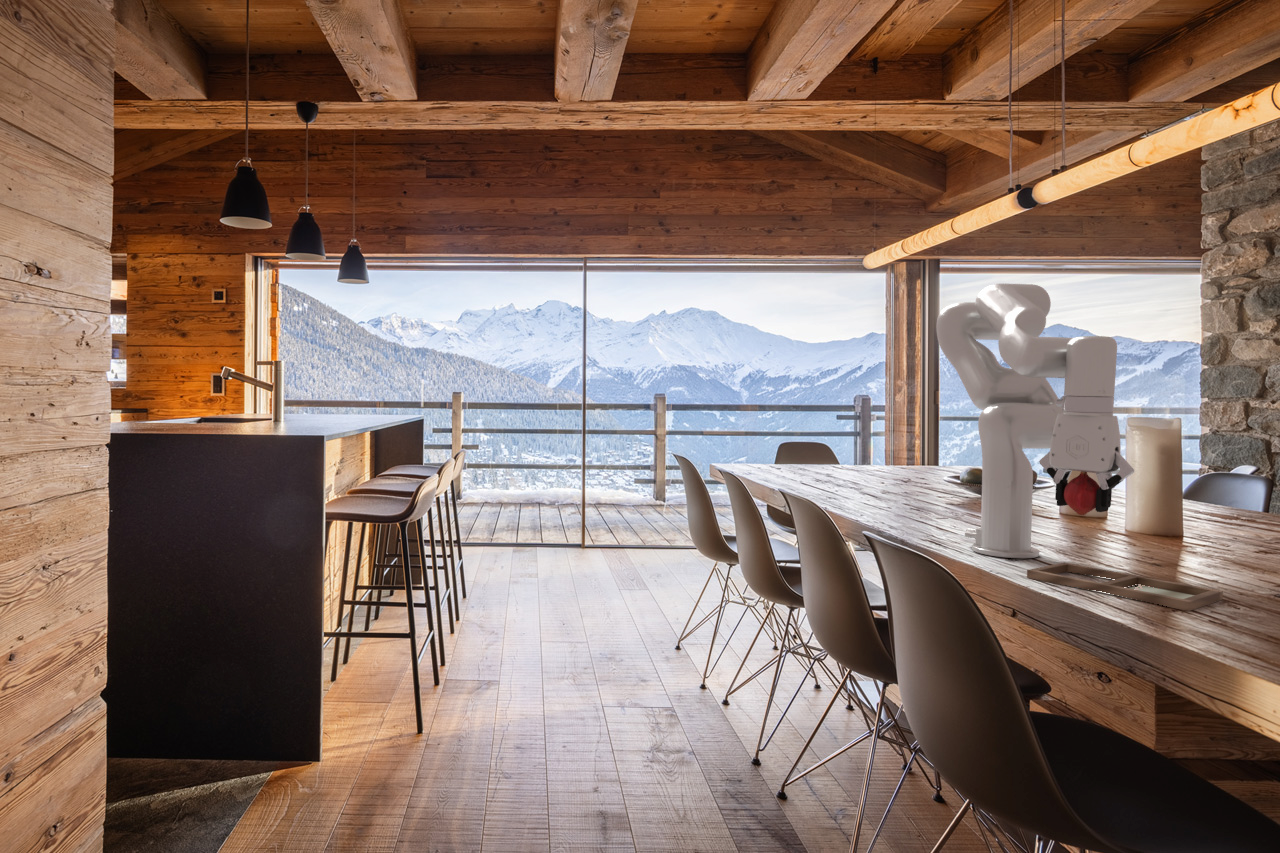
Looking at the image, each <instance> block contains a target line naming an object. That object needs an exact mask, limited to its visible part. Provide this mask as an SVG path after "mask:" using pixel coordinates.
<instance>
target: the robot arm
mask: <svg viewBox="0 0 1280 853" xmlns="http://www.w3.org/2000/svg"><path fill="white" fill-rule="evenodd" d="M1050 311H1051V297H1050V295H1049V293H1048V292H1047V290H1046V289H1045V288H1043V287H1042V286H1041V285H1038V284H1032V283H1031V284H1027V283H994V284H990V285H988V286H985V287H984V288H983V289H981V290H980V291H979V293H978V294H977V296H976V298H975V302H971V301H968V302H967V301H966V302H956V303H952V304H949V305H947V306H946V307H944V308H942V310H941V311H940V312H939V313H938V316H937V319H936V337H937V341H938V345H939V346H940V349H941V352H942V353H943V354H944V356H945V357H946V359H947V360H948V361H949V362H950V364H951V366H952V367H953V368H954V369H955V371H956V372H957V374H958V376H959V378H960V381H961V383H962V384H963V386H964V389H965V391H966V392H967V394H968V395H967V396H969V399H970V400H971V402H972V403H973V404H974V406H975V407H976V408H977V409H979V410H981V413H980V414H979V416H978V421H977V422H978V423H977V424H978V435H979V438H980V439H979V440H980V446H981V457H982V458H981V459H982V462H981V463H982V467H981V468H982V472H981V478H982V479H981V508H980V509H981V514H980V515H981V516H980V528H971V527H967V528H966V531H965V532H964V536H965V538H970V539H974V540H975V543H972V548H971V550H972V551H974V552H975V553H977V554H981V555H986V556H990V557H997V558H1004V559H1005V558H1009V559H1010V558H1011V559H1034V558H1038V557H1039V556H1040V550H1039V549H1038V548H1036V547H1033V546H1032V526H1033V525H1032V522H1033V518H1032V517H1033V492H1034V491H1033V490H1034V489H1033V487H1034V486H1033V485H1034V484H1033V483H1034V471H1033V466H1032V464H1031V462H1030V460H1029V459H1028V457H1027V455H1026V453H1025V451H1024V450H1023V449H1036V450H1037V449H1039V450H1040V449H1041V450H1043V449H1046V450H1047V449H1048V450H1049V451H1048V452H1047V453H1046V454H1045V455H1044V456H1043V457H1042V458H1040V459H1039V461H1038V462H1039V465H1041V467H1042V468H1043V469H1044V470H1045V471H1046V473H1047V474H1048V475H1049V476H1050V478H1052V482H1053V483H1054V484H1055V498H1054V499H1055V500H1056V506H1058V507H1064V506H1069V505H1068V504H1067V503H1066V501H1065V499H1064V490H1065V487H1066V485H1067V484H1068V483H1069V478H1070V476H1071V475H1072V472H1073V471H1076V472H1081V471H1082V472H1087V473H1092V474H1093V473H1094V474H1096V478H1097V481H1098V485H1099V486H1100V489H1097V493H1096V508H1095V509H1094V510H1095V512H1096V513H1104V512H1108V511H1109V508H1111V506H1112V495H1113V494H1112V493H1113V489H1115V487H1116V486H1118V485H1119V484H1121V482H1123V481H1124V480H1125V479H1126V478H1128V477H1130V476H1131V475H1133V474H1134V473H1135V469H1134V467H1133V466H1132V465H1131V464H1130V463H1129V462H1128V461H1127V460H1126V459H1125V458H1124V457H1123V456H1122V453H1121V450H1122V449H1121V434H1120V427H1119V426H1120V425H1119V420H1118V416H1117V415H1114V408H1115V407H1114V406H1115V389H1116V374H1117V373H1116V372H1117V360H1118V359H1117V357H1118V356H1117V355H1118V344H1117V341H1116V339H1115V338H1113V337H1110V336H1104V335H1089V336H1088V335H1087V336H1075V337H1063V336H1062V337H1061V336H1060V337H1059V336H1040V335H1042V334H1043V332H1044V330H1045V327H1046V324H1047V317H1048V315H1049V313H1050ZM978 340H980V341H981V340H985V341H986V340H989V341H993V340H994V341H998V343H997V344H998V351H999V355H1000V357H1001V359H1002V360H1003V361H1004V363H1006V365H1008V366H1009V368H1008V367H1005V366H1003V365H1001V363H999V361H998V359H997V358H996V355H995V354H994V353H993V352H992V350H990V349H989V347H987V346H985V345H984V344H982V343H981V342H979V341H978ZM1047 378H1051V379H1054V378H1056V379H1064V392H1063V396H1062V398H1061V399H1059V397H1058V395H1057V393H1056V392H1055V390H1054V389H1053V387H1052V386H1051V384H1050V383H1049V381H1048V379H1047ZM1118 470H1119V472H1117V473H1116V474H1114V475H1113V474H1112V473H1113V472H1116V471H1118Z"/></svg>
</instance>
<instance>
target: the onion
mask: <svg viewBox="0 0 1280 853" xmlns="http://www.w3.org/2000/svg"><path fill="white" fill-rule="evenodd" d="M1097 489H1100V484H1099V482H1097V481H1096V480H1095V479H1093V478H1092V477H1090V475H1089V474H1088V472H1082V471H1080V473H1079V474H1078V475H1077V476H1076V477H1073V478H1072V479H1071V480H1069V481H1068V484H1067V485H1066V487H1065V490H1064V499H1065V501H1066V503H1067V504H1068V505H1067V506H1068V507H1069V508H1070V509H1072V510H1073V511H1074V512H1075V513H1076V514H1077V515H1079V516H1084V515H1086V514H1088V513H1090V512H1092V511H1093V510H1095V509H1096V493H1097Z"/></svg>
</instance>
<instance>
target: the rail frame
mask: <svg viewBox="0 0 1280 853" xmlns="http://www.w3.org/2000/svg"><path fill="white" fill-rule="evenodd" d="M1063 572H1064V573H1071V572H1072V574H1076V573H1080V574H1079V575H1082V574H1086V575H1085V576H1087V575H1093V576H1100V577H1106V578H1111V579H1115V580H1106V581H1103V582H1098V581H1092V580H1087V579H1082V578H1081V579H1080V578H1078V577H1074V576H1073V577H1072V576H1067V575H1062V574H1063ZM1026 578H1027V579H1030V580H1031V579H1032V580H1036V581H1042V582H1046V583H1051V584H1055V585H1060V584H1061V585H1060V586H1065V585H1067V586H1066V587H1069V586H1071V587H1070V588H1074V587H1078V588H1077V589H1079V588H1083V589H1082V590H1084V589H1089V590H1096V591H1102V592H1106V593H1110V594H1114V595H1119V596H1123V597H1127V598H1126V599H1128V598H1132V599H1137V600H1142V601H1146V602H1145V603H1147V602H1150V603H1149V604H1152V603H1154V604H1153V605H1157V604H1159V605H1158V606H1162V605H1163V607H1166V606H1167V608H1173V609H1177V610H1181V611H1187V612H1190V611H1194V610H1197V609H1199V608H1203V607H1205V606H1209V605H1211V604H1215V603H1217V602H1221V601H1223V599H1224V591H1223V590H1220V589H1213V588H1208V587H1202V586H1196V585H1190V584H1187V583H1186V584H1185V583H1180V582H1175V581H1174V582H1173V581H1170V580H1163V579H1157V578H1153V577H1147V576H1142V575H1136V574H1129V573H1124V572H1119V571H1115V570H1110V569H1109V570H1108V569H1103V568H1097V567H1091V566H1085V565H1079V564H1075V563H1070V562H1069V563H1068V562H1061V563H1054V564H1049V565H1046V566H1041V567H1040V566H1039V567H1036V568H1030V569H1027V570H1026ZM1135 584H1141V586H1142V585H1145V586H1142V588H1143V589H1139V590H1134V589H1135V586H1132V585H1135ZM1128 586H1132V587H1129V588H1124V587H1128ZM1148 586H1150V587H1148ZM1153 587H1154V588H1153ZM1138 588H1140V587H1138ZM1158 588H1159V589H1158ZM1089 590H1088V591H1089ZM1123 597H1122V598H1123ZM1132 599H1131V600H1132ZM1137 600H1136V601H1137ZM1142 601H1141V602H1142Z"/></svg>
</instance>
